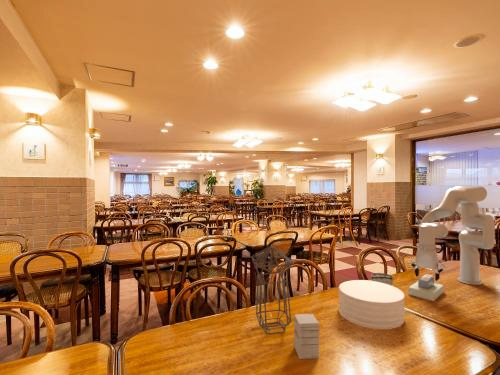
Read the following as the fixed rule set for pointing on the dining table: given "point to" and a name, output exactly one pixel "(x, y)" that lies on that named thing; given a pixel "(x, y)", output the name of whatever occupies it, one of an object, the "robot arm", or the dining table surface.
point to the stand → (426, 291)
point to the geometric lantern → (272, 282)
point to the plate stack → (371, 304)
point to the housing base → (426, 284)
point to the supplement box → (306, 336)
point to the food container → (382, 278)
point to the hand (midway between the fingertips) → (426, 277)
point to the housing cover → (427, 277)
